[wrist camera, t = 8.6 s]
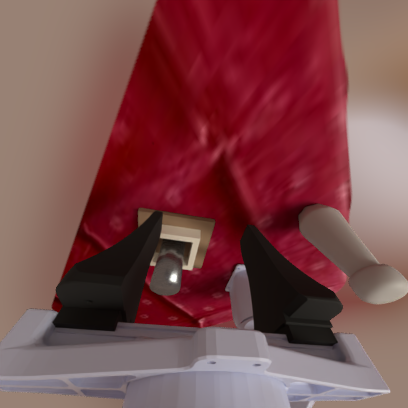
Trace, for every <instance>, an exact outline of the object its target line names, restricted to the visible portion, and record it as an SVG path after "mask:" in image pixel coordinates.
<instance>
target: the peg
mask: <svg viewBox="0 0 408 408" xmlns="http://www.w3.org/2000/svg"><path fill="white" fill-rule="evenodd" d="M184 251H185V241H178V240H171V239H164V238H163V240H162V244H161V247H160V251H159V254H158V258H157V261H156V265H155V269H154V272H153V276H152V279H151V283H150V289H151V290H152V291H153V292H155V293H157V294H160V295H174V294H176V293H178V292H179V290H180V285H181V276H182V268H183V260H184Z"/></svg>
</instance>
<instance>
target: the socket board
mask: <svg viewBox="0 0 408 408" xmlns="http://www.w3.org/2000/svg"><path fill="white" fill-rule="evenodd" d="M154 211H157V210H151V209H145V208H139V210H138V227H139V226H140V225H141V224H143V223H144V222H145V221H146V220H147V219H148V218H149V217H150V215H151V214H152V213H153V212H154ZM161 212H163V219H162V231H161V235H160V239H159V242H158V245H157V248H156V250H155V253H154V255H153V258H152V261H151V263H150V265H153V266H155V265H156V261H157V258H158V254H159V251H160V247H161V244H162V240H163V238H164V239H171V240H178V241H185V251H184V260H183V268H182V269H187V270H192V269H193V268H201V267H202V264H203V260H204V257H205V254H206V251H207V247H208V244H209V241H210V238H211V235H212V231H213V228H214V225H215V219H208V218H202V217H196V216H189V215H183V214H177V213H170V212H164V211H161Z"/></svg>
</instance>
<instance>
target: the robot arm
mask: <svg viewBox="0 0 408 408" xmlns="http://www.w3.org/2000/svg"><path fill="white" fill-rule="evenodd" d="M162 219H163V212H161V211H154V212H153V213H152V214H151V215H150V217H149V218H148V219H147V220H146V221H145V222H144V223H143V224H141V225H140V226H139V227H138V228H137V229H136V230H135V231H133V232H132V233H131V234H130V235H128V236H127V237H126V238H124V239H123V240H121V241H120V242H118V243H117V244H115V245H113V246H112V247H110V248H108V249H106V250H105V251H103V252H101V253H99V254H97V255H95V256H93V257H90V258H88V259H86V260H83V261H81V262H79V263H76V264H75V265H74V266H73V267H72V268H71V269H70V270H69V271H68V273H67V274H66V275H65V276H64V278H63V279H62V280H61V282H60V283H59V284H58V286H57V287H56V293H57V296H58V298H59V299H60V301H61V303H62V305H63V307H62V308H61V310H60V311H59V313H58V312H56V311H54V310H45V309H32V308H30V309H27V311H26V312H25V313H24V314H23V315H22V317H21V318H20V319H19V320H18V322H17V323H16V324H15V325H14V326H13V328H12V329H11V330H10V331H9V333H8V334H7V335H6V336H5V338H4V339H3V340H2V341H1V342H0V391H4V392H6V391H7V392H30V393H49V394H62V395H74V396H86V397H98V398H111V399H123V400H124V403H123V406H122V408H312V406H313V404H314V402H315V401H327V400H328V401H331V400H332V401H334V400H335V401H336V400H344V401H345V400H346V401H358V400H362V399H366V398H370V397H374V396H378V395H382V394H386V393H390V389H389V388H388V386H387V385H386V383H385V382H384V380H383V378H382V377H381V375H380V374H379V372H378V371H377V369H376V368H375V366H374V364H373V363H372V361H371V360H370V358H369V357H368V355H367V353H366V352H365V350H364V349H363V347H362V346H361V344H360V342H359V341H358V339H357V338H356V336H355V335H354V334H351V333H334V334H333V332H332V330H331V329H330V328H332V327H333V326H332V324H331V322H330V320H331V319H332V318H334V317H335V316H336V315H337V314H339V313H340V312H341V311H342V309H343V305H342V304H341V302H340V301H339V299H338V298H337V296H336V294H335V293H334V292H333V291H331V290H330V289H328V288H326V287H325V286H323V285H321V284H320V283H318V282H316V281H315V280H313V279H312V278H310V277H309V276H307V275H306V274H305V273H303V272H302V271H301V270H299V269H298V268H297V267H295V266H294V265H293V264H292V263H290V262H289V261H288V260H287V259H286V258H285V257H284V256H282V255H281V254H280V253H279V252H278V251H277V250H276V249H275V248H274V247H273V246H272V245H271V244H270V242H269V241H268V240H267V239H266V238H265V237H264V236H263V235H262V233H261V232H260V231H259V230H258V229H257V228H256V227H255V226H254V225H247V227H246V229H245V231H244V234H243V236H242V238H241V240H240V245H241V253H242V257H243V261H244V265H241V264H238V265H237V266H236V268H235V270H234V272H233V274H232V276H231V278H230V280H229V282H228V284H227V286H226V288H225V291H229V292H230V300H231V307H232V314H233V320H234V323H235V325H236V327H237V328H225V327H205V328H191V327H177V326H164V325H150V324H137V323H134V322H135V318H136V314H137V310H138V306H139V302H140V298H141V294H142V290H143V287H144V283H145V279H146V276H147V272H148V269H149V266H150V263H151V261H152V258H153V255H154V253H155V250H156V248H157V245H158V242H159V239H160V235H161V231H162Z"/></svg>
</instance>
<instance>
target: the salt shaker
mask: <svg viewBox="0 0 408 408" xmlns="http://www.w3.org/2000/svg"><path fill="white" fill-rule="evenodd" d="M298 217H299V230H300V232H301V233H302V235H303V236H304V237H305V238H306V239H307V240H308V241H309V242H311V243H312V244H313V245H314V246H315V247H316V248H317V249H318V250H320V251H321V252H322V253H323V254H324V255H325V256H326V257H327V258H328V259H330V260H331V261H332V262H333V263H334V264H335V265H336V266H337V267H339V268H340V269H341V270H342V271H343V272H344V273H345V274H346V275H347V276H349V277H350V278H349V281H348V282H349V285H350V287H351V288H352V289H353V291H354V292H355V294H356V295H357V296H358V297H359V298H360V299H361V300H362V301H365V302H368V303H372V304H384V303H389V302H393V301H395V300H397V299H400V298H401V297H403V296H404V295H406V294H407V293H408V281H407V280H406V279H405V278H404V277H403V275H402V274H400V272H398V271H397V270H396V269H395V268H393V267H391V266H389V265H385V264H380V263H379V262H378V261H377V260H376V259H375V257H374V256H373V255H372V254H371V252H370V251H369V250H368V248H367V247H366V246H365V245H364V243H363V242H362V241H361V240H360V238H359V237H358V236H357V235H356V233H355V232H354V230H353V229H352V228H351V226H350V225H349V224H348V222H347V221H346V220H345V218H344V217H343V216H342V214H341V213H340V212H339V211H338V210H336V209H334V208H331V207H329V206H325V205H321V204H315V205H311V206H307V207H305V208H304V209H303V211H302V212H301V213H300V214H299V215H298Z"/></svg>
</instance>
